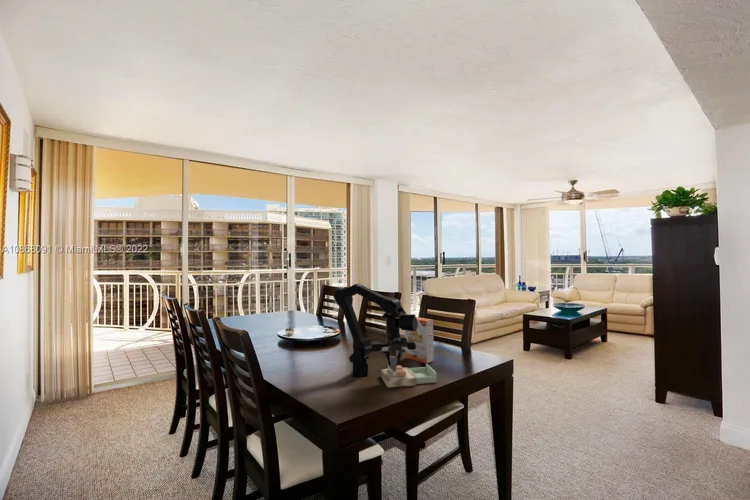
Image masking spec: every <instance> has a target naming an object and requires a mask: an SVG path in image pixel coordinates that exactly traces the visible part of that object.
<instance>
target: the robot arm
mask: <svg viewBox="0 0 750 500" xmlns="http://www.w3.org/2000/svg"><path fill="white" fill-rule="evenodd" d="M355 295H359V296H361V297H363V298H364V299H367V300H368V301H371V302H372V303H374V304H376V305H377V306H379V307H380V309H381V310H382V311H384V314H383V315H382V316H380V318H381V319H385V342H386V343H381V342H380V341H371V339H370V338H369V337H368V338H366V337H365V336H364V334H363V332H362V328H361V325H360V323H359V319H358V318H357V317H358V316H357V315H356V312H355V309H354V307H353V304H354V303H353V302H354V298H353V296H355ZM333 299H334V302H335V303H336V305H337V306H338V307H339V308H340V309H341V310H342V312H343V315H344V318H345V322H346V324H347V327H348V329H349V332H350V334H351V338H352V350H353V353H352V354H350V355H349V357H348V360H349V362H350V363H351V376H352V377H353V378H357V377H368V375H369V374H368V373H369V362H368V359H369V358H370V356H371V354H372V352H380V351H381V353H383V354H384V356H385V359H386V363H387V366H388V365H389V367H390V356H391V355H390V351H391V352H395V356H396V357H397V358H398V359H397V365H399V362H400V360H401V358H402V357H401V356H402V355H403V354H404V353H405V352H406V350H405V347H407V348H408V349H409V350H415V349H416V344H415V343H414V342H413V341H412V340H407V339H406V338H405V337H401V331H400V330H402V331H405V330H407V331H416V330H417V327H418V322H417V318H416V317H417V316H416V314H415V313H414V314H410V313H409V314H408V313H407V312H406V311H405V309H404V307H403V306H402V302H401V301H400V299H397V298H394V297H391V296H385V295H383V294H380V293H378V292H376V291H374V290H372V289H371V288H369V287H367V286H364V285H363V284H361V283H354V284H353V285H351V286H347V287H345V288H338V289H336V290H335V291H334V292H333ZM389 349H390V351H389Z"/></svg>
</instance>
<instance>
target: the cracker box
mask: <svg viewBox="0 0 750 500" xmlns="http://www.w3.org/2000/svg"><path fill="white" fill-rule="evenodd" d="M416 318H417V322H418V327H417V330H416V331H407V330H404V338H406V339H407V340H412V341H413V342H414V343H415V344H416V349H415V350H409V349H408V348H407V347H405V350H406V352H404V354H405V355H404V359H408V360H412V361H416V362H419V363H422V364H423V363H424V364H425V365H426V364H429V363H433V362H434V360H435V359H434V356H435V355H434V353H435V351H434V320H433V319H432V318H431V319H430V318H425V317H418V316H416Z"/></svg>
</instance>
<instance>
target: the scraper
mask: <svg viewBox="0 0 750 500" xmlns="http://www.w3.org/2000/svg"><path fill="white" fill-rule="evenodd" d="M389 356H390V367H389V365H388V364H387V369H388V370H389V371H390V373H391V374H392V376H393V377H396V375H397V371H396V370H395V369H396V366H397V359H398V358H397V357H396V355H389Z"/></svg>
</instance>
